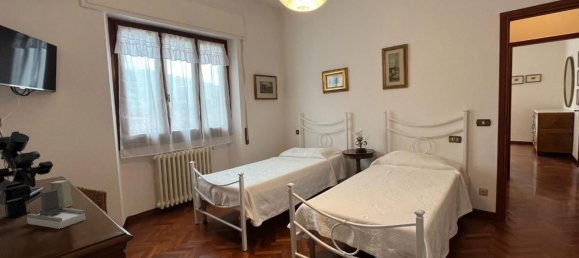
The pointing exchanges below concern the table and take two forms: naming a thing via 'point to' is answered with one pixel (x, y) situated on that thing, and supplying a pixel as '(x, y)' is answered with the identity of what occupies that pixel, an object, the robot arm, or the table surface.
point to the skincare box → (63, 192)
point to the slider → (50, 203)
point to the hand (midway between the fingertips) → (34, 186)
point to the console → (57, 218)
